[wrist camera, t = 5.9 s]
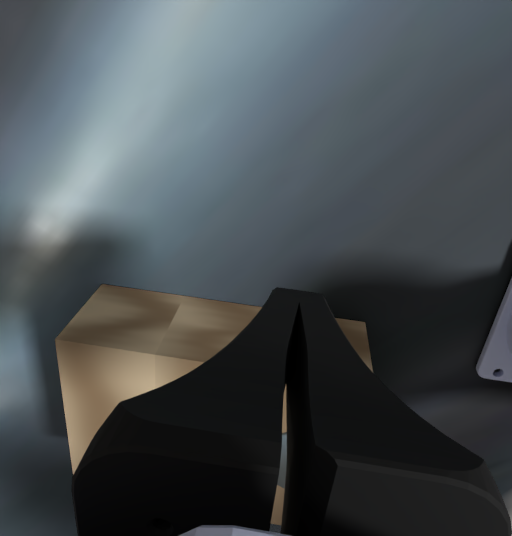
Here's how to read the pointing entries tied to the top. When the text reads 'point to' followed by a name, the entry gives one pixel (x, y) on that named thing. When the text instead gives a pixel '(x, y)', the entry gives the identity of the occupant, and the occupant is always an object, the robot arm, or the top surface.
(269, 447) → the robot arm
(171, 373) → the socket block
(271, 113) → the top surface
